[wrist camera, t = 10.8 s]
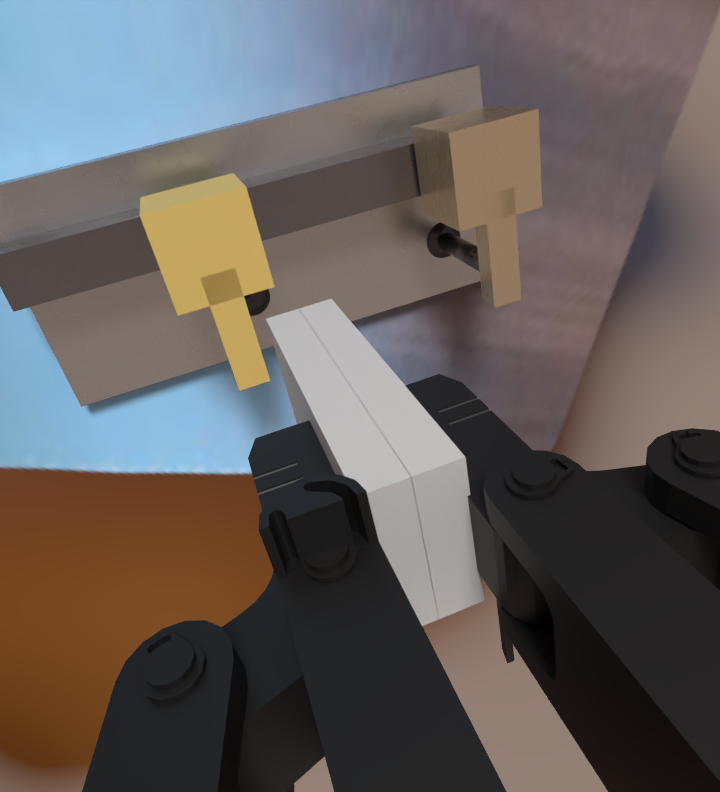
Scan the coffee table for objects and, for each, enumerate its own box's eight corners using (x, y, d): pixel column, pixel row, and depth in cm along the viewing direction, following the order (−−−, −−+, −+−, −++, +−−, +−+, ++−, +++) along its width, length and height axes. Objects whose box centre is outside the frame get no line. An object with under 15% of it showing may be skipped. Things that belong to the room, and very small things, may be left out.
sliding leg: (198, 345, 31) (210, 400, 26) (140, 188, 27) (139, 215, 22) (272, 322, 32) (298, 371, 27) (226, 166, 28) (246, 187, 23)
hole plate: (83, 398, 32) (67, 480, 26) (-24, 188, 27) (-79, 224, 20) (488, 271, 36) (564, 314, 30) (469, 65, 31) (559, 62, 24)
